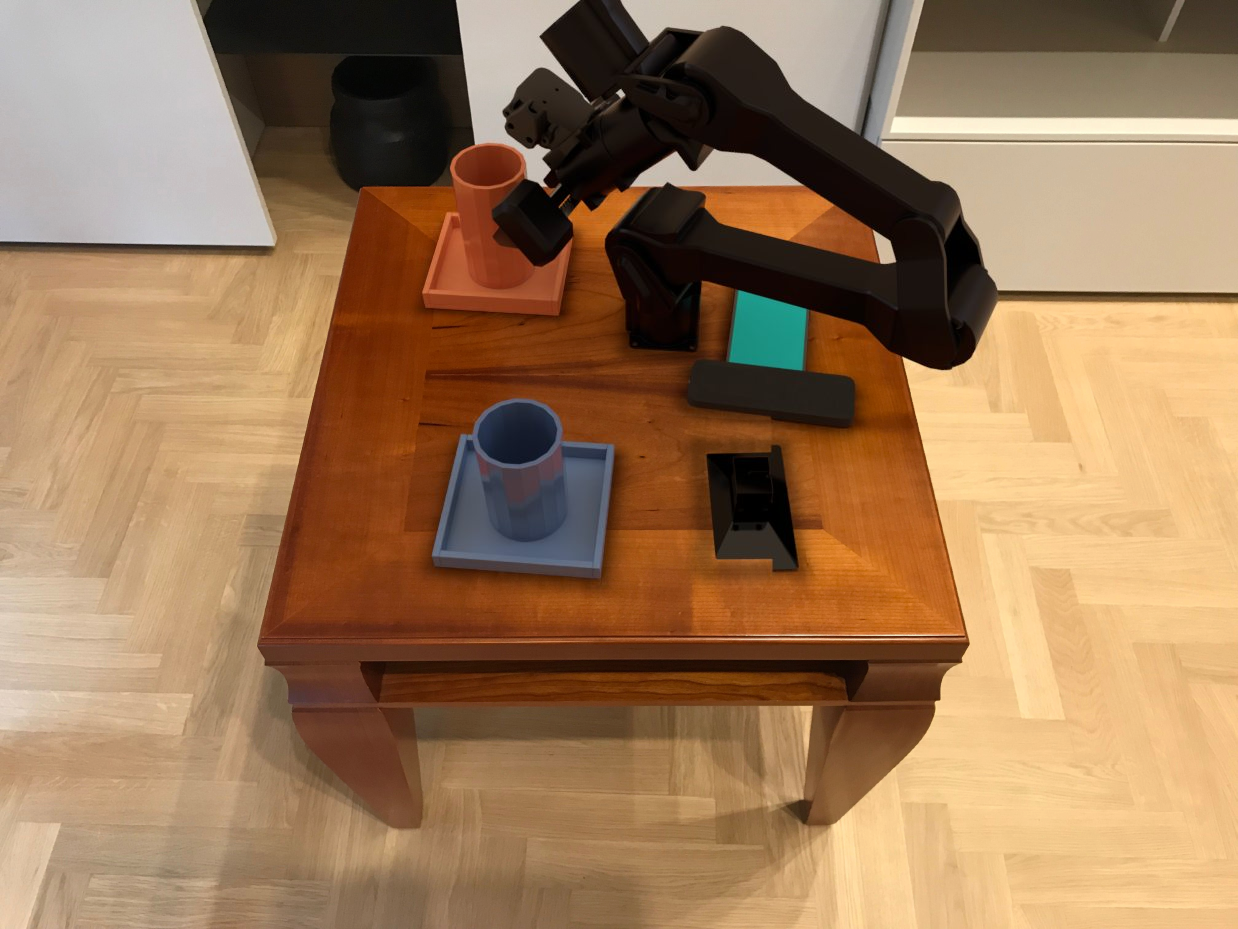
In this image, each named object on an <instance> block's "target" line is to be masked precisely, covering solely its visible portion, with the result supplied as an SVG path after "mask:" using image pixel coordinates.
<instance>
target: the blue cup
mask: <svg viewBox="0 0 1238 929" xmlns="http://www.w3.org/2000/svg"><path fill="white" fill-rule="evenodd" d="M471 435H472V440H473V444H474V449H475V454H476V459H477V464H478V468H479V473H480V478H481V483H482V488H483V493H484V497H485V502H486V507H487V511H488V515H489V519H490V521H491V523H492V525H493V527H494V528H495V529H496V530H497V531H498V532H499V533H500V534H502V535H503V536H505V537H507V538H509V539H512V540H516V541H522V542H529V541H536V540H540V539H543V538H545V537H548V536H549V535H551V534H553V533H554V532H555V531H556V530H557V529H558V528H559V527H560V526H561V525H562V524H563V522H564V520H565V519H566V516H567V513H568V501H569V499H568V487H567V475H566V463H565V451H564V441H565V439H564V428H563V426H562V423H561V420H560V417H559V415H558V414H557V413H556V412H555V411H554V410H553V409H552V408H551V407H550V406H549V405H548V404H546V403H542V402H540V401H537V400H535V399H532V398H519V397H518V398H516V397H515V398H510V399H507V400H502V401H498V402H496V403H495V404H493V405H492V406H490V407H489V408H486V409H485V410H484V411H483V412H482V413H481V414H480V416H479V417H478V418H477V420H476V421H475V422H474V426H473V430H472V434H471Z"/></svg>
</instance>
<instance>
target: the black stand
mask: <svg viewBox="0 0 1238 929" xmlns="http://www.w3.org/2000/svg"><path fill="white" fill-rule="evenodd" d="M782 451H783V450H782V446H781V445H780V444H770V451H760V452H759V451H757V452H714V453H712V452H711V453H706V455H705V456H706V465H707V466H706V468H707V480H708V491H709V502H710V513H711V523H712V524H711V525H712V535H713V547H714V558H715V559H716V560H771V563H772V564H771V566H772V567H771V569H772V570H771V571H772V572H797V571H798V570H799V568H800V565H799V559H798V552H797V545H796V537H795V531H794V525H793V524H794V523H793V518H792V511H791V504H790V498H789V491H788V484H787V479H786V471H785V464H784V459H783V458H784V457H783V452H782Z"/></svg>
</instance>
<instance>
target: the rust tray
mask: <svg viewBox="0 0 1238 929" xmlns="http://www.w3.org/2000/svg"><path fill="white" fill-rule="evenodd" d="M568 219H569V220H570V221H571V222H572V223H573V224H574V221H573V218H568ZM573 239H574V236H573V237H572V239H571V240H570V241H569V242H568V244H567V245H566V246H565V247H564V248H563V250H562V251H561V252H560V253H559V255H558V256H557V257H556V258H555V259H554V260H553V261H551V262H550V263H548V264H546V265H545V266H543V267H537V266H535V269H534V272H533V274H532V275H531V277H530V278H529V279H528V280H526V281H525V282H523V283H522V284H520V285H518V286H515V287H512V288H507V289H491V288H487V287H483V286H481V285H479V284H478V283H476V282H475V281H474V280H473V279H472V278H471V277H470V275H469V272H468V267H467V264H466V258H465V252H464V246H463V241H462V235H461V229H460V223H459V218H458V212H453V211H452V212H451V211H449V212H448V211H447V212H446V214H445V217H444V220H443V224H442V227H441V230H440V234H439V237H438V240H437V243H436V247H435V250H434V253H433V256H432V260H431V263H430V266H429V269H428V273H427V276H426V280H425V282H424V286H423V288H422V292H421V294H422V299H423V302H424V306H425V309H440V310H453V311H454V310H457V311H473V312H489V313H503V314H504V313H506V314H508V313H509V314H520V315H521V314H524V315H538V316H539V315H540V316H556V317H558V316H560V312H561V306H562V300H563V294H564V289H565V283H566V279H567V272H568V266H569V261H570V256H571V250H572V244H573Z"/></svg>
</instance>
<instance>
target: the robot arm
mask: <svg viewBox="0 0 1238 929" xmlns="http://www.w3.org/2000/svg"><path fill="white" fill-rule="evenodd" d="M538 37H539V39H540V40H541V42H542V43H543V44H544V46H546V48H547V49H548V50H549V52H550V53H551V55H552V56H553V57H554V58H555V60H556V61H557V62H558V64H559V65H560V66H561V68H562V69H563V70H564V72H565V73H566V75H567V76H568V77H569V78H570V80H571V82H573V83H574V85H575V86H576V88H577V89H578V90H577V89H576V88H574V86H572V85H571V84H570V83H568V82H567V81H566V80H564V79H563V78H562V77H560V76H559V75H558V74H556V73H555V72H553V71H552V70H551V69H549V68H547V67H541V66H540V67H537V68H535V69H534V70H533V71H531V73H530V74H529V75H528V76H527V77H525V79H524V80H523V81H522V82H521V83H520V84H519V85H518V86H517V87H516V89H515V92H514V94H513V97H512V99H511V101H510V102H509V103H508V104H507V105H506V106H505V107H504V108H503V109H502V111H501V112H502V116H503V117H504V118H505V123H504V126H503V127H504V130H505V132H506V134H507V135H508V136H509V137H511V138H512V139H513V140H515V141H516V142H517V143H519V144H520V145H521V146H523V147H524V148H526V149H527V150H532V149H535V147H537V146H539V147H541V148H543V149H545V150H548V151H547V152H546V153H545V155H544V156H542V158H541V160H542V161H543V163H544V164H545V165H546V166H547V167H548V168H549V169H550V170H549V171H548V173H547V174H546V175H545V177H544V178H543V180H542V182H543V183H544V185H545V186H546V187H547V188H548V189H550V190H551V189H553V190H552V191H551V192H550V193H548V192H547V191H546V190H545V189H544V187H542V186H541V184H540V183H539V182H538V181H535V180H532V179H529V178H528V179H525V178H524V179H523V180H521V181H520V182H519V183H517V184H516V185H515V186H514V187H513V188H512V189H511V190H509V191H508V192H507V193H506V194H505V196H504V197H503V198H502V199H501V200H500V201H499V202H498V203H497V204H496V205H495V206H494V208H493V209H492V210H491V212H492V219H493V220H494V222H495V223H496V224H497V225H498V226H499V228H498V229H497V231H496V232H495V233H494V235H493V236H492V237H493V239H494V240H495V241H496V242H497V243H498V244H499V245H500V246H505V247H510V248H516V249H519V250H520V251H521V252H522V253H523V254H524V255H525V256H526V258H527V259H528V260H529V261H530V262H531V263H532V264H533V266H537V267H543V266H545V265H546V264H548V263H550V262H551V261H553V260H554V259H555V258H556V257H557V256H558V255H559V253H560V252H561V251H562V250H563V248H564V247H565V246H566V245H567V244H568V242H569V241H570V240H571V239H572V237H573V238H574V236H575V235H574V222H573V223H572V222H571V221H570V220H569V219H570V218H569V216H570V215H571V214H572V213H573V211H574V210H575V209H576V208H577V207H578V206H579V205H580V204H581V202H583V203H584V205H585V206H586V207H587V209H588V210H589V211H590V212H593V211H595V210H597V209H598V208H599V207H601V205H602V204H603V203H604V202H605V200H606V198H607V197H609V195H610V194H611V193H612V192H614V191H616V190H618V191H619V192H620V193H621V194H622V193H623V192H625V191H626V190H628V189H630V188H631V187H632V185H633V184H634V183H635V182H636V180H637V179H638V178H639V177H640V175H641V174H643V173H644V172H646V171H648V170H649V169H651V168H652V167H654V166H655V165H657V164H659V163H660V162H662V161H664V160H666V159H667V158H668V157H670V156H671V155H672V154H674V153H677V154H678V156H679V158H681V160H682V161H683V163H684V164H685V165H686V166H687V168H688V170H690V171H691V172H696V171H698V170H699V168H700V167H701V166H702V165H703V163H704V162H705V161H706V160H707V159H708V158H709V156H710V155H711V153H712V152H713V151H714V150H715V151H719V152H722V153H735V154H745V155H751V156H753V157H756V158H758V159H760V160H762V161H764V162H767V163H768V164H770V165H771V166H773V167H774V168H776V169H777V170H779V171H781V172H782V173H783V174H785V175H787V176H788V177H789V178H791V179H793V180H795V181H796V182H798V183H799V184H800V185H802V186H804V187H805V188H807V189H808V190H810V191H812V192H813V193H815V194H816V195H817V196H819V197H820V198H823V199H824V200H825V201H827V202H829V203H830V204H832V205H833V206H835V207H837V208H838V209H840V210H841V211H843V212H844V213H846V214H847V215H849V216H850V217H852V218H854V219H855V220H856V221H858V222H860V223H861V224H863V225H865V227H868V228H869V229H870V230H872V231H874V232H875V233H877V234H878V235H880V236H882V237H883V238H884V239H887V240H888V241H889V242H890V246H891V249H892V253H893V256H894V260H895V261H893V262H888V263H880V262H876V261H872V260H871V261H870V260H866V259H863V258H859V257H855V256H851V255H847V254H844V253H840V252H835V251H831V250H828V249H824V248H819V247H815V246H812V245H808V244H803V243H799V242H795V241H791V240H787V239H784V238H779V237H775V236H771V235H767V234H764V233H760V232H755V231H751V230H748V229H742V228H740V227H735V226H731V225H728V224H724V223H722V222H720V221H718V220H717V218H716V217H715V216H714V215H713V214H712V213H711V212H710V211H709V210H708V208H706V200H707V196H706V194H705V193H704V192H702V191H700V190H690V189H689V190H688V189H683V188H680V187H677V186H676V185H674V184H673V183H671V182H669V181H665V182H666V183H665V184H664V185H663V186H662V187H661V186H653V187H650V188H648V189H647V190H645V191H644V192H643V193H642V194H640V195H639V196H638V197H637V199H636V200H635V201H634V202H633V203H632V205H631V206H630V207H629V208H628V209H627V210H626V211H625V213H624V214H623V215H622V216H621V217H620V218H619V220H618V221H617V222H616V223H615V224H614V225H613V226H612V227H611V229H610V230H609V231H608V232H607V234H606V236H605V238H604V251H605V254H606V257H607V258H608V263H609V265H610V267H611V270H612V273H613V275H614V278H615V281H616V283H617V286H618V289H619V292H620V294H621V297H622V299H623V300H624V301H625V303H624V304H625V305H624V306H625V317H624V318H625V319H624V320H625V322H624V323H625V325H624V326H625V331H626V332H628V333H629V339H628V346H629V348H631V349H633V350H647V351H648V350H650V351H662V352H663V351H664V352H681V353H696V352H698V350H699V338H700V320H701V319H700V318H701V302H702V301H701V300H702V287H703V285H702V284H703V282H707V283H711V284H714V285H719V286H721V287H725V288H729V289H732V290H735V291H736V290H739V291H743V292H747V293H750V294H754V295H757V296H761V297H765V298H768V299H772V300H775V301H779V302H783V303H786V304H790V305H793V306H797V307H801V308H804V309H808V310H810V312H811V311H812V312H815V313H819V314H823V315H826V316H830V317H834V318H836V319H841V320H844V321H848V322H851V323H855V324H859V325H861V326H863V327H865V329H866V330H868V331H869V333H870V334H872V336H873V337H874V338H875V339H876V340H877V341H878V342H879V343H880V344H881V345H882V346H883V347H884V348H885V349H886V350H887V351H888V352H890V353H892V354H893V355H894V354H895V355H897V356H898V357H901V358H904V359H906V360H909V361H911V362H913V363H916V364H918V365H920V366H923V367H925V368H927V369H930V370H937V371H951V370H953V368H956V367H959V366H962V365H965V363H967V362H968V361H969V360H971V358H972V357H973V356H974V354H975V352H976V349H977V348H978V345H979V343H980V342H981V338H982V336H983V335H984V332H985V330H986V328H987V325H988V323H989V321H990V319H991V317H992V315H993V312H994V311H995V309H996V306H997V304H998V302H999V290H998V287H997V284H996V282H995V281H994V280H993V278H992V276H991V275H990V274H989V270H988V269H987V268H986V266H985V262H984V257H983V253H982V248H981V244H980V241H979V238H978V237H977V236H976V234H975V233H974V231H973V229H971V227H970V226H969V224H968V223H967V221H966V220H965V216H964V212H963V207H962V203H961V199H960V197H959V195H958V192H957V191H956V190H955V189H954V188H953V187H952V186H951V185H950V184H949V183H946V182H943V181H941V180H931V179H929V178H928V177H926V176H924V175H923V174H922V173H920V172H919V171H917V170H915V169H914V168H913V167H911V166H909V165H907V163H906V164H905V163H904V162H903V161H901V160H899V159H898V158H896V157H895V156H893V155H892V154H890V153H889V152H887V151H886V150H884V149H882V148H881V147H879V146H877V145H876V144H875V143H872V142H871V141H870V140H868V139H866V138H865V137H863V136H862V135H860V134H859V133H857V132H855V131H854V130H852V129H851V128H850V127H848V126H846V125H844V123H842V122H840V121H838V120H837V119H835V118H833V116H830V115H829V114H827V113H826V112H824V111H822V110H821V109H819V107H816V106H815V105H814V104H811V103H810V102H809V101H808V100H806V99H804V98H803V97H802V96H801V95H800V94H799V93H797V92H796V91H795V90H794V89H793V88H792V87H791V85H790V82H789V81H788V79H787V78H786V76H785V74H784V72H783V71H782V69H781V67H780V65H779V64H778V61H776V60H775V58H773V57H771V56H770V55H769V54H768V53H767V52H766V51H765V50H763V48H761V47H760V46H759V45H758V44H757V43H756V42H755V41H754V40H753V39H752V38H750V37H749V35H746V33H744V32H743V31H741V30H739V29H736V28H734V27H732V26H727V25H720V26H719V27H714V28H711V29H706V30H705V31H703V30H694V29H687V28H679V27H672V26H670V27H669V26H667V27H664V29H662V30H661V32H659V33H658V35H657V36H655V37H654V38H653V39H652V40H651V41H650V40H648V38H647V37H646V35H645V34H644V32H643V31H642V29H641V28H640V27H639V26H638V24H637V23H636V21H635V20H634V19H633V17H632V16H631V14H630V13H629V11H628V10H627V8H626V7H625V6H624V4H623V2H622V0H578V1H577V2H576V3H575V4H574V5H572V6H571V7H570V8H569V9H568V10H567V11H565V12H564V13H562V15H561V16H560V17H558V18H557V19H556V20H555V21H554V22H552V24H551V25H549V26H548V27H547V28H546V29H545V30H544V31H543V32H542V33H541V34H540V35H539V36H538ZM620 90H621V92H622V93H623V94H624V95H622V97H621V96H620V95H619V93H618V92H619V91H620ZM585 98H586V99H585ZM572 240H573V239H572ZM633 344H635V345H633ZM692 347H693V348H692Z"/></svg>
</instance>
